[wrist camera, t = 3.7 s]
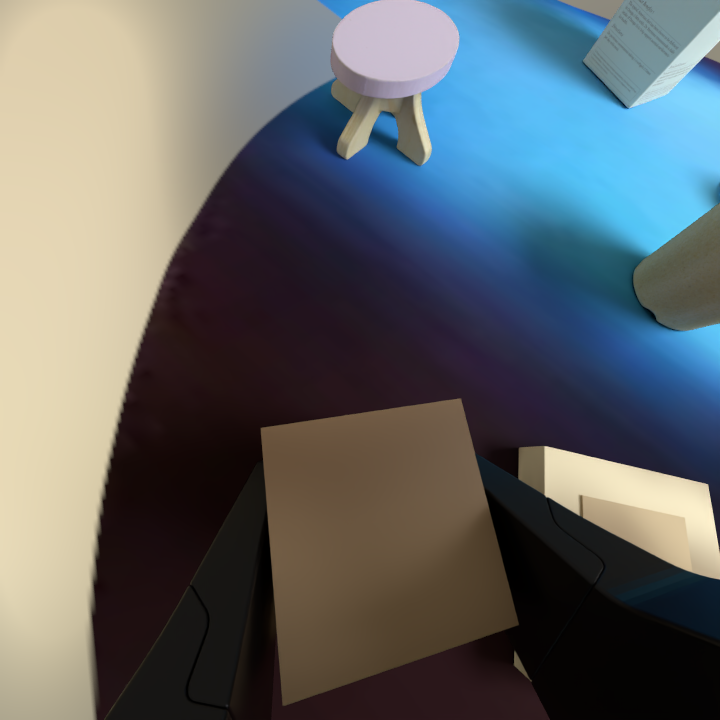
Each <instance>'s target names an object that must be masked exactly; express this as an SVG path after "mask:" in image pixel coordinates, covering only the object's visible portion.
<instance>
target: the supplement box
mask: <svg viewBox="0 0 720 720" xmlns="http://www.w3.org/2000/svg"><path fill="white" fill-rule="evenodd" d="M719 41H720V0H625V1H624V2H623V4H622V5H621V6H620V8H619V9H618V11H617V12H616V13H615V15H614V16H613V18H612V19H611V21H610V22H609V23H608V25H607V26H606V28H605V29H604V31H603V32H602V34H601V35H600V37H599V38H598V40H597V41H596V42H595V44H594V45H593V47H592V48H591V50H590V51H589V52H588V54H587V55H586V57H585V58H584V60H583V62H584V63H585V64H586V65H587V66H588V67H589V68H590V69H591V70H592V71H593V72H594V73H595V74H596V75H597V76H598V77H599V78H600V79H601V80H602V81H603V83H604V84H605V85H606V86H607V87H608V88H609V89H610V90H611V91H612V92H613V93H614V94H615V95H616V96H617V97H618V98H619V99H620V100H621V101H622V102H623V103H624V104H625V105H626V106H627V107H628V108H632V107H635V106H638V105H640V104H643V103H646V102H649V101H652V100H654V99H657V98H660V97H662V96H664V95H666V94H668V93H669V92H670V91H671V90H672V89H673V88H674V87H675V85H676V84H677V83H678V82H679V81H680V80H681V79H682V78H683V77H684V76H685V75H686V74H687V73H688V72H689V71H690V70H691V69H692V68H693V67H694V66H695V65H696V64H697V63H698V62H699V61H700V60H701V59H702V58H703V57H704V56H705V55H706V54H707V53H708V52H709V51H710V50H711V49H712V48H713V47H714V46H715V45H716V44H717V43H718V42H719Z"/></svg>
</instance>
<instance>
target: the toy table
mask: <svg viewBox="0 0 720 720" xmlns="http://www.w3.org/2000/svg"><path fill="white" fill-rule="evenodd" d="M458 45H459V33H458V30H457V27H456V26H455V24H454V22H453V21H452V20H451V19H450V18H449V16H447V15H446V14H445V13H444V12H443V11H441V10H440V9H438V8H435V7H434V6H431V5H429V4H426V3H423V2H419V1H415V0H381V1H376V2H372V3H369V4H366V5H363V6H361V7H358V8H357V9H355V10H353V11H352V12H350V13H349V14H348V15H347V16H345V17H344V18H343V19H342V20H341V21H340V22H339V24H338V25H337V27H336V29H335V31H334V34H333V40H332V49H331V67H332V70H333V72H334V74H335V76H336V78H337V80H335V81H334V82H333V84H332V88H331V93H332V96H333V97H334V98H335V99H336V100H338V101H339V102H340V103H342V104H343V105H344V106H345V107H347V108H348V109H349V110H350V111H351V112H353V115H352V116H351V118H350V120H349V122H348V123H347V125H346V127H345V129H344V130H343V132H342V134H341V136H340V138H339V140H338V144H337V153H338V154H339V155H341V156H342V157H343V158H345V159H346V160H347V159H349V158H350V157H352V156H353V155H354V154H355V153H357V152H358V151H359V150H361V149H362V148H363V147H365V146H366V145H367V143H368V139H369V135H370V133H371V130H372V127H373V125H374V123H375V121H376V120H377V118H378V116H379V114H380V113H381V111H387V112H391V113H392V114H393V115H394V116H395V119H396V122H397V126H398V143H397V149H399V150H400V151H401V152H402V153H404V154H405V155H406V156H407V157H409V158H410V159H411V160H412V161H414V162H415V163H416V164H417V165H419V166H421V165H423V164H424V163H425V162H426V161H427V160H428V159H429V157H430V154H431V150H432V149H431V143H430V139H429V135H428V131H427V128H426V124H425V120H424V117H423V111H422V105H421V92H423V91H425V90H427V89H429V88H431V87H432V86H434V85H435V84H437V83H438V82H439V81H440V80H441V79H442V78H443V77H444V76H445V75H446V74H447V72H448V71H449V69H450V67H451V64H452V62H453V59H454V57H455V54H456V52H457V49H458Z"/></svg>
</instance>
